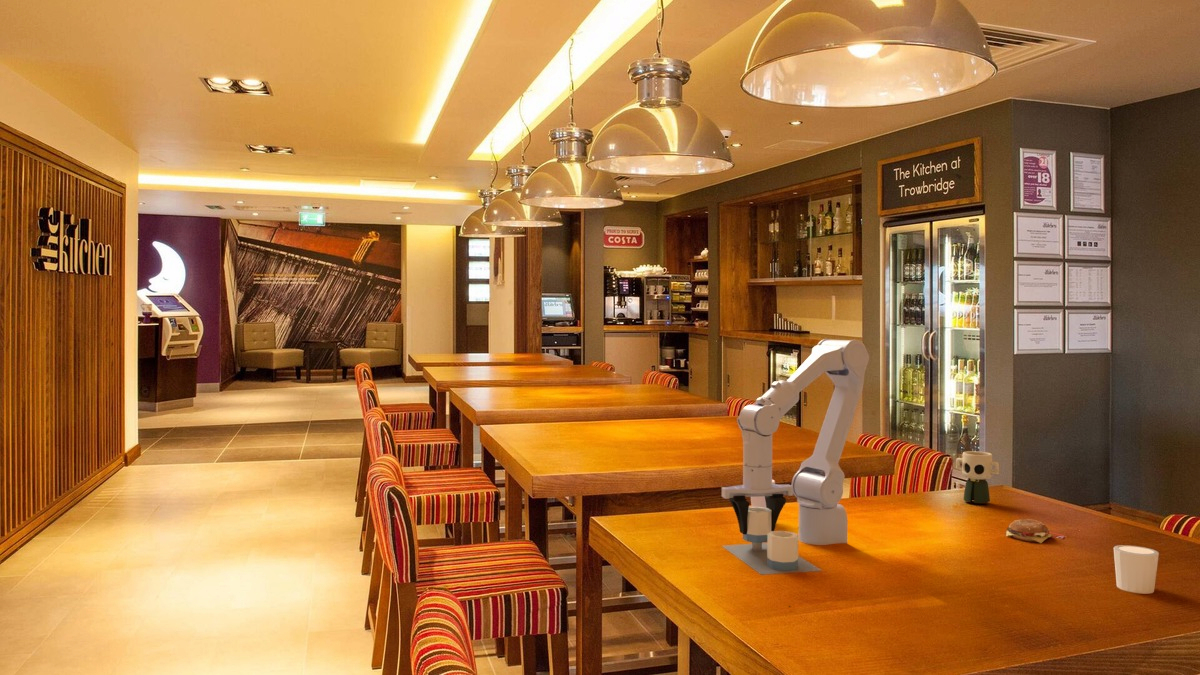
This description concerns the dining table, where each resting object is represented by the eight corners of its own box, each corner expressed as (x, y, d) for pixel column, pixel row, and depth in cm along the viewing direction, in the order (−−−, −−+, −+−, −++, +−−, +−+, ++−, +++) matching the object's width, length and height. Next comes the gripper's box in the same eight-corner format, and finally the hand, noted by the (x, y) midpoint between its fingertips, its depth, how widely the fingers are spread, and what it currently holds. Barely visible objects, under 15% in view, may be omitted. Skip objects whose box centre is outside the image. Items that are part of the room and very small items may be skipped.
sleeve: (763, 535, 175) (764, 506, 175) (774, 542, 170) (774, 511, 170) (739, 536, 174) (740, 507, 174) (750, 543, 169) (750, 513, 169)
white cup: (1158, 597, 148) (1159, 557, 148) (1112, 590, 152) (1112, 551, 152) (1157, 586, 154) (1158, 548, 154) (1113, 580, 158) (1113, 542, 158)
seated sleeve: (789, 561, 164) (789, 530, 164) (801, 569, 159) (801, 537, 159) (763, 563, 163) (764, 531, 162) (775, 571, 158) (775, 538, 157)
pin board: (776, 549, 178) (776, 523, 177) (822, 578, 158) (822, 548, 158) (721, 553, 175) (721, 526, 175) (761, 582, 155) (761, 552, 155)
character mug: (950, 501, 224) (950, 452, 224) (960, 497, 230) (961, 449, 229) (993, 508, 217) (994, 457, 217) (1003, 504, 222) (1004, 454, 222)
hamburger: (1058, 552, 179) (1059, 523, 179) (991, 539, 189) (991, 511, 189) (1083, 539, 188) (1083, 512, 188) (1017, 528, 198) (1018, 502, 198)
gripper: (782, 460, 177) (782, 525, 178) (716, 462, 174) (715, 529, 175) (797, 466, 171) (797, 534, 171) (729, 468, 167) (728, 538, 168)
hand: (757, 532), depth 172 cm, fingers closed on sleeve, 5 cm apart
